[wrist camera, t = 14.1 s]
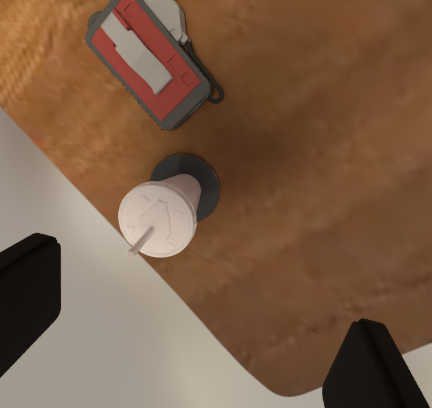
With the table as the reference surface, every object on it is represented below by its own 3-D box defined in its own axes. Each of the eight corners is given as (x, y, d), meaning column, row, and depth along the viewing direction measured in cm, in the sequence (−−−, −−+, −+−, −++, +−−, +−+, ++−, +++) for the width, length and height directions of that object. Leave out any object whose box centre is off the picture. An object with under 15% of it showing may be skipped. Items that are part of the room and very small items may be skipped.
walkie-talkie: (242, 83, 28) (96, -102, 25) (239, 78, 24) (64, -143, 21) (179, 141, 31) (41, -18, 28) (167, 147, 27) (2, -40, 24)
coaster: (155, 146, 31) (153, 147, 31) (226, 161, 31) (226, 162, 30) (148, 212, 34) (146, 214, 33) (213, 228, 33) (212, 230, 33)
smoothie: (150, 203, 33) (77, 266, 20) (167, 152, 31) (98, 185, 18) (200, 225, 33) (162, 303, 20) (221, 175, 31) (194, 226, 18)
